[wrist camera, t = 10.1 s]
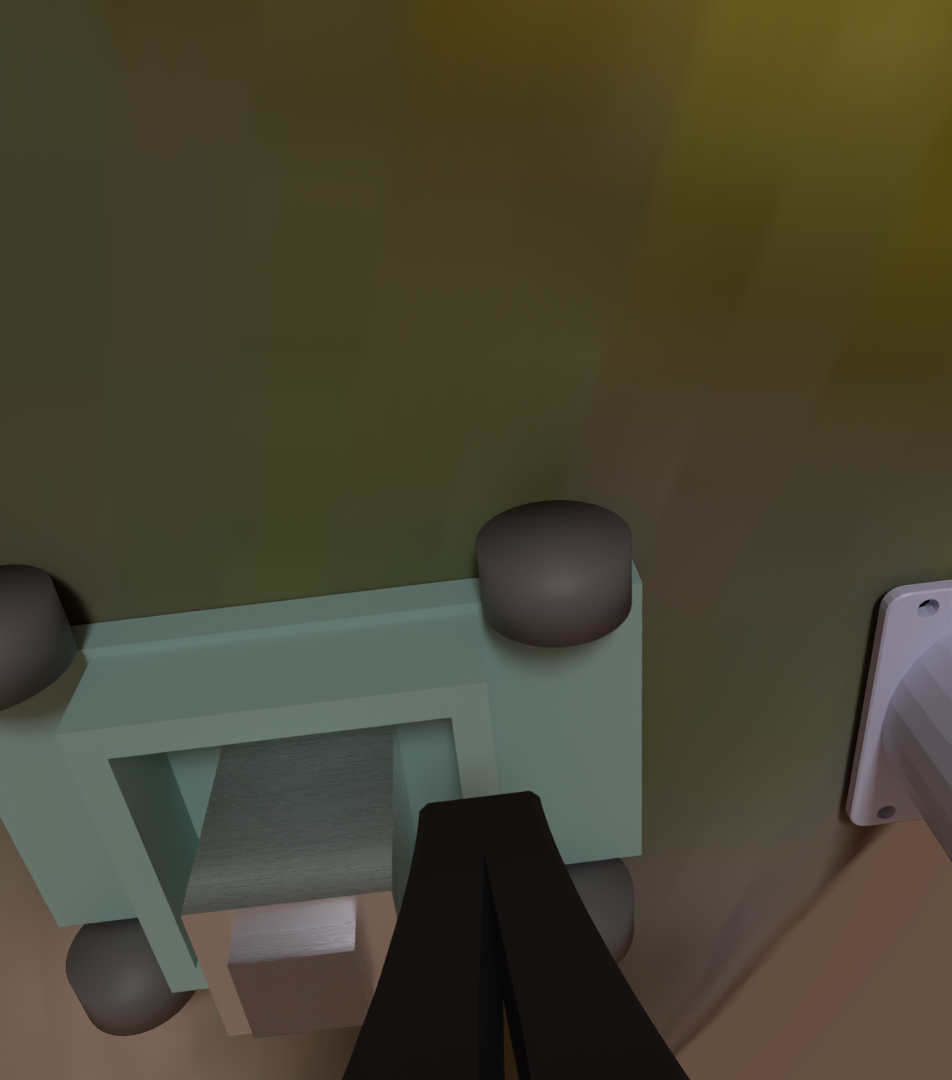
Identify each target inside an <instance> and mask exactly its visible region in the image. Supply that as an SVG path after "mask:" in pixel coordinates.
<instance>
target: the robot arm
mask: <svg viewBox="0 0 952 1080" xmlns="http://www.w3.org/2000/svg"><path fill="white" fill-rule="evenodd" d="M929 599H930V600H929ZM926 600H929V602H928V603H927V604H926V605H925V606H923V607H920V608H918V607H919V605H920V604H921V603H923V602H924V601H926ZM846 812H847V814H848V816H849V818H850V819H851V821H852V822H853V823H854V824H856V825H859V826H870V825H878V824H886V823H894V822H902V821H910V820H917V819H924V820H925V821H926V823H927V824H928V826H929V827H930V829H931V830H932V832H933V834H934V835H935V837H936V838H937V840H938V841H939V843H940V844H941V846H942V847H943V849H944V850H945V852H946V853H947V855H948V856H949V858H950V860H951V861H952V580H945V581H937V582H928V583H920V584H912V585H904V586H900V587H896V588H894V589H893V590H891V591H890V592H888V593H887V594H886V595H885V597H884V598H883V599H882V602H881V604H880V609H879V615H878V621H877V627H876V633H875V639H874V645H873V650H872V656H871V662H870V668H869V674H868V680H867V686H866V692H865V697H864V703H863V709H862V715H861V721H860V727H859V733H858V738H857V744H856V750H855V756H854V762H853V768H852V774H851V780H850V785H849V791H848V797H847V803H846ZM503 1000H504V1005H505V1010H506V1016H507V1021H508V1026H509V1031H510V1037H511V1042H512V1047H513V1052H514V1057H515V1063H516V1068H517V1073H518V1078H519V1080H690V1079H689V1078H688V1076H687V1075H686V1073H685V1072H684V1070H683V1069H682V1067H681V1066H680V1064H679V1063H678V1061H677V1060H676V1058H675V1057H674V1055H673V1054H672V1052H671V1051H670V1049H669V1048H668V1046H667V1045H666V1043H665V1042H664V1040H663V1039H662V1037H661V1036H660V1034H659V1032H658V1031H657V1029H656V1028H655V1026H654V1024H653V1023H652V1021H651V1020H650V1018H649V1016H648V1015H647V1013H646V1012H645V1010H644V1009H643V1007H642V1005H641V1004H640V1002H639V1001H638V999H637V997H636V996H635V994H634V993H633V991H632V989H631V988H630V986H629V984H628V982H627V981H626V979H625V977H624V976H623V974H622V972H621V971H620V969H619V967H618V966H617V964H616V962H615V960H614V959H613V957H612V955H611V953H610V951H609V949H608V948H607V946H606V944H605V942H604V940H603V939H602V937H601V935H600V933H599V931H598V930H597V928H596V926H595V924H594V922H593V920H592V919H591V917H590V915H589V913H588V911H587V909H586V907H585V905H584V903H583V901H582V900H581V898H580V896H579V894H578V892H577V890H576V888H575V885H574V883H573V881H572V879H571V877H570V875H569V873H568V870H567V868H566V866H565V864H564V862H563V860H562V857H561V855H560V853H559V850H558V848H557V846H556V843H555V841H554V838H553V836H552V833H551V831H550V828H549V825H548V822H547V819H546V817H545V814H544V810H543V807H542V804H541V800H540V797H539V796H538V795H536V794H535V793H533V792H531V791H523V792H514V793H506V794H498V795H490V796H482V797H474V798H466V799H457V800H449V801H441V802H433V803H427V804H426V805H425V806H424V807H423V808H422V809H421V810H420V811H419V819H418V829H417V836H416V841H415V847H414V853H413V858H412V863H411V867H410V872H409V876H408V881H407V884H406V888H405V892H404V896H403V900H402V904H401V908H400V912H399V916H398V919H397V922H396V925H395V929H394V932H393V935H392V939H391V942H390V945H389V948H388V952H387V955H386V958H385V962H384V965H383V968H382V972H381V975H380V978H379V981H378V984H377V987H376V990H375V993H374V995H373V998H372V1001H371V1004H370V1006H369V1009H368V1012H367V1015H366V1017H365V1020H364V1023H363V1026H362V1028H361V1031H360V1034H359V1036H358V1039H357V1042H356V1045H355V1047H354V1050H353V1053H352V1056H351V1058H350V1061H349V1064H348V1066H347V1069H346V1071H345V1074H344V1076H343V1079H342V1080H505V1072H504V1025H503Z"/></svg>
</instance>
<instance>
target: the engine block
mask: <svg viewBox="0 0 952 1080" xmlns="http://www.w3.org/2000/svg"><path fill="white" fill-rule="evenodd" d="M413 853H414V827H413V821H412V815H411V809H410V804H409V798H408V792H407V787H406V781H405V775H404V769H403V764H402V758H401V752H400V746H399V741H398V735H397V729H396V724H392V725H384V726H376V727H368V728H359V729H351V730H343V731H335V732H326V733H318V734H310V735H302V736H294V737H285V738H277V739H269V740H261V741H252V742H244V743H236V744H228V745H222V749H221V754H220V758H219V762H218V766H217V770H216V774H215V778H214V782H213V786H212V790H211V794H210V798H209V802H208V806H207V810H206V814H205V818H204V822H203V826H202V830H201V834H200V838H199V842H198V846H197V851H196V855H195V859H194V863H193V867H192V871H191V875H190V879H189V883H188V887H187V891H186V895H185V899H184V903H183V907H182V911H181V915H180V916H181V918H182V921H183V923H184V926H185V928H186V931H187V933H188V936H189V938H190V941H191V943H192V946H193V948H194V951H195V953H196V956H197V959H198V961H199V964H200V966H201V969H202V971H203V974H204V976H205V979H206V981H207V984H208V986H209V989H210V991H211V994H212V996H213V999H214V1001H215V1004H216V1006H217V1009H218V1011H219V1014H220V1016H221V1019H222V1021H223V1024H224V1026H225V1029H226V1031H227V1034H228V1036H235V1035H243V1034H253V1037H254V1038H261V1037H270V1036H278V1035H286V1034H295V1033H303V1032H311V1031H320V1030H328V1029H336V1028H345V1027H353V1026H362V1025H363V1023H364V1020H365V1017H366V1015H367V1012H368V1009H369V1006H370V1004H371V1001H372V998H373V995H374V993H375V990H376V987H377V984H378V981H379V978H380V975H381V972H382V968H383V965H384V962H385V958H386V955H387V952H388V948H389V945H390V942H391V939H392V935H393V932H394V929H395V925H396V922H397V919H398V916H399V912H400V908H401V904H402V900H403V896H404V892H405V888H406V884H407V881H408V876H409V872H410V867H411V863H412V858H413Z"/></svg>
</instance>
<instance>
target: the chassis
mask: <svg viewBox="0 0 952 1080" xmlns="http://www.w3.org/2000/svg"><path fill="white" fill-rule="evenodd" d="M476 555H477V564H478V573H479V578H471V579H462V580H454V581H445V582H437V583H429V584H420V585H412V586H403V587H395V588H387V589H378V590H370V591H362V592H353V593H345V594H336V595H328V596H320V597H311V598H303V599H294V600H286V601H278V602H269V603H261V604H253V605H244V606H236V607H227V608H219V609H211V610H202V611H194V612H186V613H177V614H169V615H160V616H152V617H144V618H135V619H127V620H118V621H110V622H102V623H93V624H85V625H77V626H70V624H69V621H68V619H67V617H66V614H65V612H64V609H63V607H62V604H61V602H60V599H59V597H58V595H57V592H56V590H55V587H54V585H53V582H52V580H51V578H50V576H49V575H48V574H47V573H46V572H45V571H44V570H42V569H40V568H37V567H34V566H28V565H0V818H1V819H2V821H3V823H4V825H5V827H6V829H7V831H8V833H9V834H10V836H11V838H12V840H13V842H14V844H15V846H16V848H17V849H18V851H19V853H20V855H21V857H22V859H23V861H24V863H25V865H26V866H27V868H28V870H29V872H30V874H31V876H32V878H33V880H34V881H35V883H36V885H37V887H38V889H39V891H40V893H41V895H42V896H43V898H44V900H45V902H46V904H47V906H48V908H49V910H50V911H51V913H52V915H53V917H54V919H55V921H56V923H57V925H58V927H64V926H72V925H80V924H84V926H83V927H82V928H81V929H80V931H79V932H78V933H77V935H76V936H75V938H74V940H73V942H72V944H71V946H70V948H69V951H68V954H67V959H66V974H67V978H68V980H69V983H70V984H71V986H72V988H73V990H74V992H75V994H76V995H77V997H78V999H79V1001H80V1003H81V1004H82V1006H83V1008H84V1010H85V1012H86V1014H87V1015H88V1017H89V1019H90V1020H91V1022H92V1023H93V1024H94V1025H95V1026H96V1027H97V1028H98V1029H100V1030H101V1031H103V1032H105V1033H108V1034H111V1035H116V1036H130V1035H136V1034H140V1033H143V1032H146V1031H149V1030H151V1029H154V1028H156V1027H158V1026H159V1025H161V1024H163V1023H164V1022H166V1021H167V1020H169V1019H170V1018H172V1017H173V1016H174V1015H175V1014H177V1013H178V1012H179V1011H180V1010H181V1009H182V1008H183V1007H184V1006H185V1005H186V1003H187V1002H188V1001H189V1000H190V998H191V997H192V995H193V994H194V993H195V991H196V990H199V989H207V988H209V986H208V984H207V981H206V979H205V976H204V974H203V971H202V969H201V966H200V964H199V961H198V959H197V956H196V953H195V951H194V948H193V946H192V943H191V941H190V938H189V936H188V933H187V931H186V928H185V926H184V923H183V921H182V918H181V916H180V915H181V911H182V907H183V903H184V899H185V895H186V891H187V887H188V883H189V879H190V875H191V871H192V867H193V863H194V859H195V855H196V851H197V846H198V842H199V838H200V834H201V830H202V826H203V822H204V818H205V814H206V810H207V806H208V802H209V798H210V794H211V790H212V786H213V782H214V778H215V774H216V770H217V766H218V762H219V758H220V754H221V749H222V745H228V744H236V743H244V742H252V741H261V740H269V739H277V738H285V737H294V736H302V735H310V734H318V733H326V732H335V731H343V730H351V729H359V728H368V727H376V726H384V725H392V724H396V729H397V735H398V741H399V746H400V752H401V758H402V764H403V769H404V775H405V781H406V787H407V792H408V798H409V804H410V809H411V815H412V821H413V827H414V847H415V841H416V836H417V829H418V819H419V811H420V810H421V809H422V808H423V807H424V806H425V805H426V804H427V803H433V802H441V801H449V800H457V799H466V798H474V797H482V796H490V795H498V794H506V793H514V792H523V791H531V792H533V793H535V794H536V795H538V796H539V797H540V800H541V804H542V807H543V810H544V814H545V817H546V819H547V822H548V825H549V828H550V831H551V833H552V836H553V838H554V841H555V843H556V846H557V848H558V850H559V853H560V855H561V857H562V860H563V862H564V864H565V866H566V868H567V870H568V873H569V875H570V877H571V879H572V881H573V883H574V885H575V888H576V890H577V892H578V894H579V896H580V898H581V900H582V901H583V903H584V905H585V907H586V909H587V911H588V913H589V915H590V917H591V919H592V920H593V922H594V924H595V926H596V928H597V930H598V931H599V933H600V935H601V937H602V939H603V940H604V942H605V944H606V946H607V948H608V949H609V951H610V953H611V955H612V957H613V959H614V960H615V962H616V964H618V963H619V962H620V961H621V960H622V959H623V958H624V957H625V955H626V954H627V952H628V950H629V948H630V946H631V943H632V939H633V933H634V891H633V882H632V878H631V875H630V873H629V871H628V869H627V867H626V866H625V864H624V863H623V862H622V860H621V859H620V858H621V857H629V856H637V855H642V581H641V579H640V577H639V574H638V572H637V570H636V567H635V565H634V563H633V560H632V535H631V531H630V528H629V526H628V525H627V523H626V522H625V521H624V520H623V519H622V518H621V517H620V516H618V515H617V514H615V513H614V512H612V511H610V510H608V509H606V508H603V507H600V506H597V505H594V504H590V503H585V502H579V501H567V500H552V501H541V502H534V503H529V504H525V505H521V506H518V507H515V508H512V509H509V510H507V511H505V512H502V513H500V514H499V515H497V516H495V517H494V518H492V519H491V520H490V521H488V522H487V523H486V524H485V525H484V526H483V527H482V528H481V530H480V531H479V533H478V535H477V538H476Z"/></svg>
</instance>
